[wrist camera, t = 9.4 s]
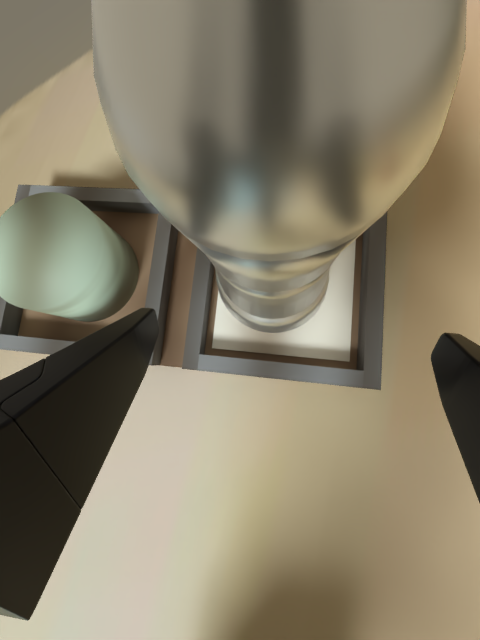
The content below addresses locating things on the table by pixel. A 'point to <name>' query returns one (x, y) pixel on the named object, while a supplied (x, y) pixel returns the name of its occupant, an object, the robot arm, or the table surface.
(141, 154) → the plastic bottle
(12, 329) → the grey flat tray
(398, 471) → the table surface
